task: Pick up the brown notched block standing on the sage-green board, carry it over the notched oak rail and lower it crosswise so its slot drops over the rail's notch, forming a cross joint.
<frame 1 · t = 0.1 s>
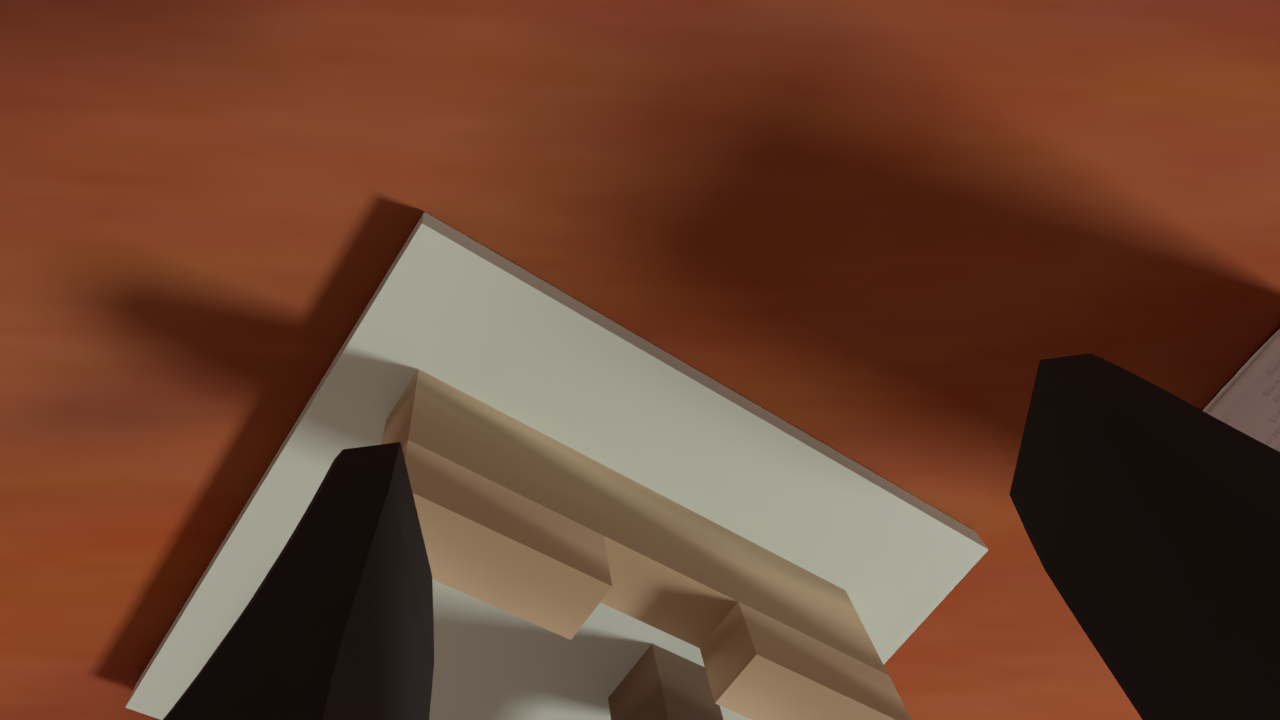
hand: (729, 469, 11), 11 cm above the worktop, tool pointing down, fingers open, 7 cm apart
board: (568, 604, 25), on the worktop
oak rail: (634, 512, 23), resting on board
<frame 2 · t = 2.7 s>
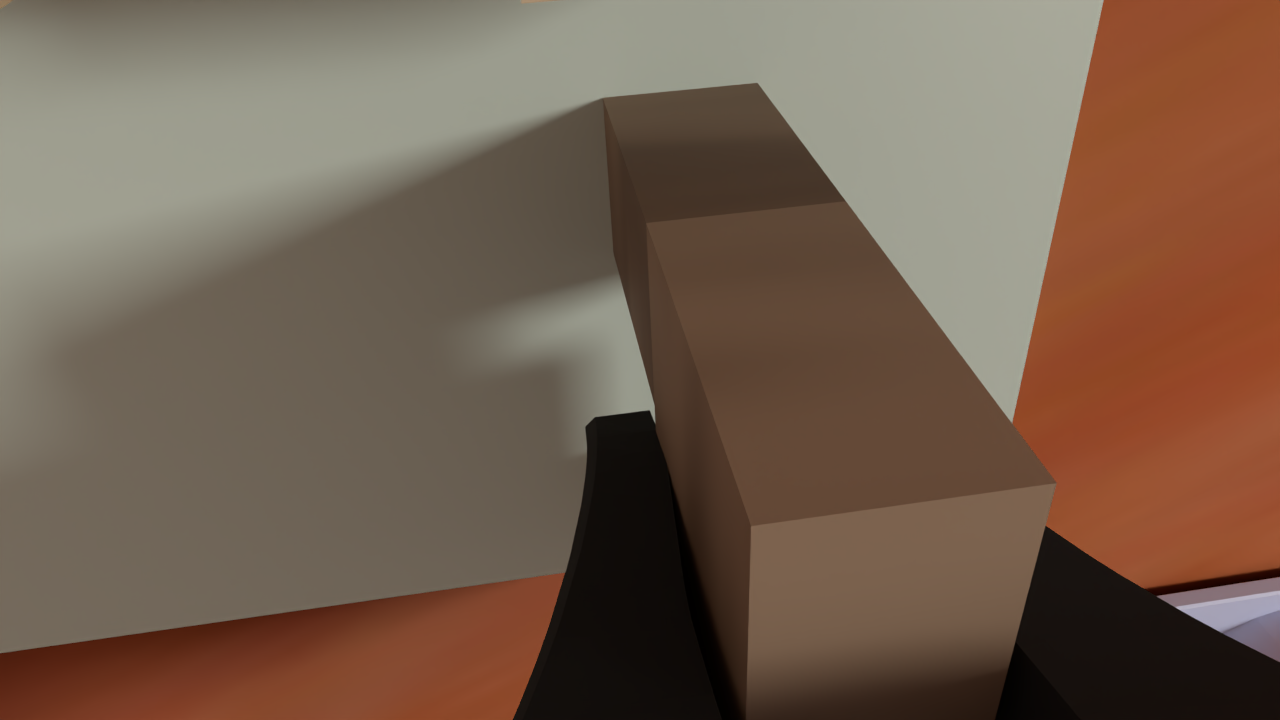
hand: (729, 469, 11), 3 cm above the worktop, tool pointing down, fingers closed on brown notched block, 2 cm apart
brown notched block: (686, 343, 13), point 1 cm above the worktop, touching board, gripper
board: (425, 131, 12), on the worktop
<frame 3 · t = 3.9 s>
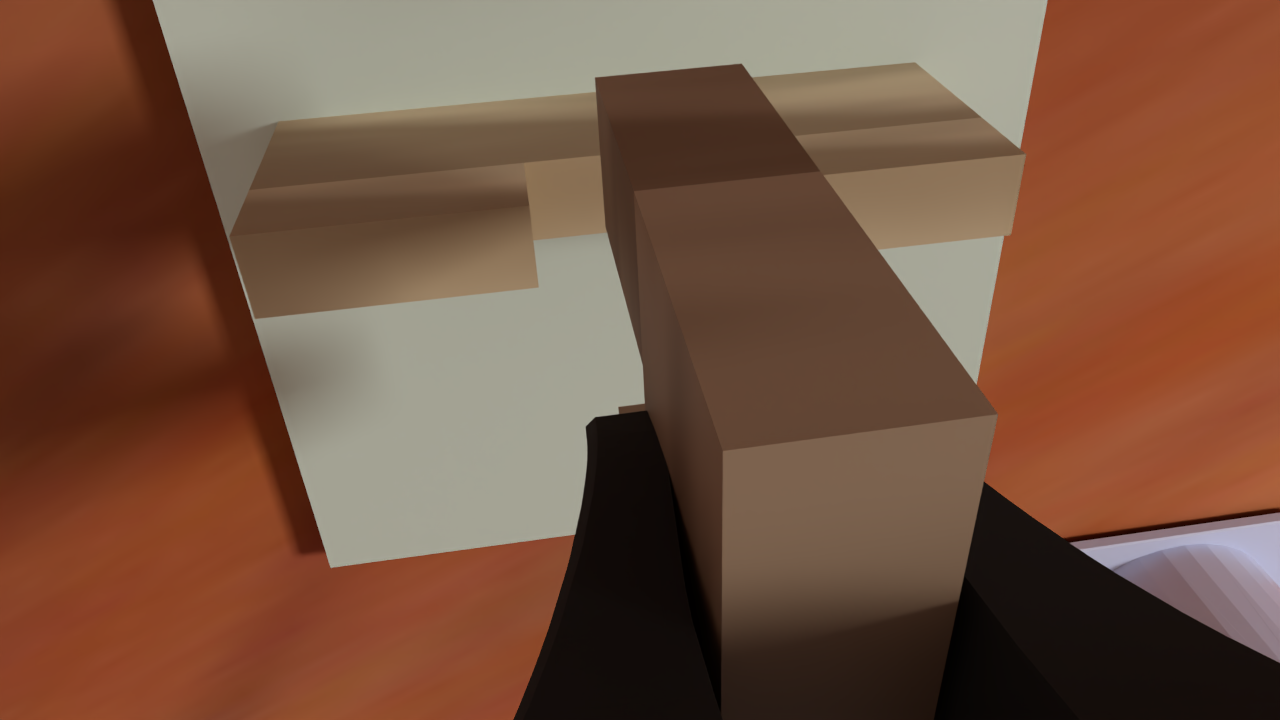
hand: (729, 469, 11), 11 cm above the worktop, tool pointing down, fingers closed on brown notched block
brown notched block: (675, 314, 14), point 7 cm above the worktop, touching gripper
board: (637, 264, 22), on the worktop
oak rail: (608, 126, 19), resting on board
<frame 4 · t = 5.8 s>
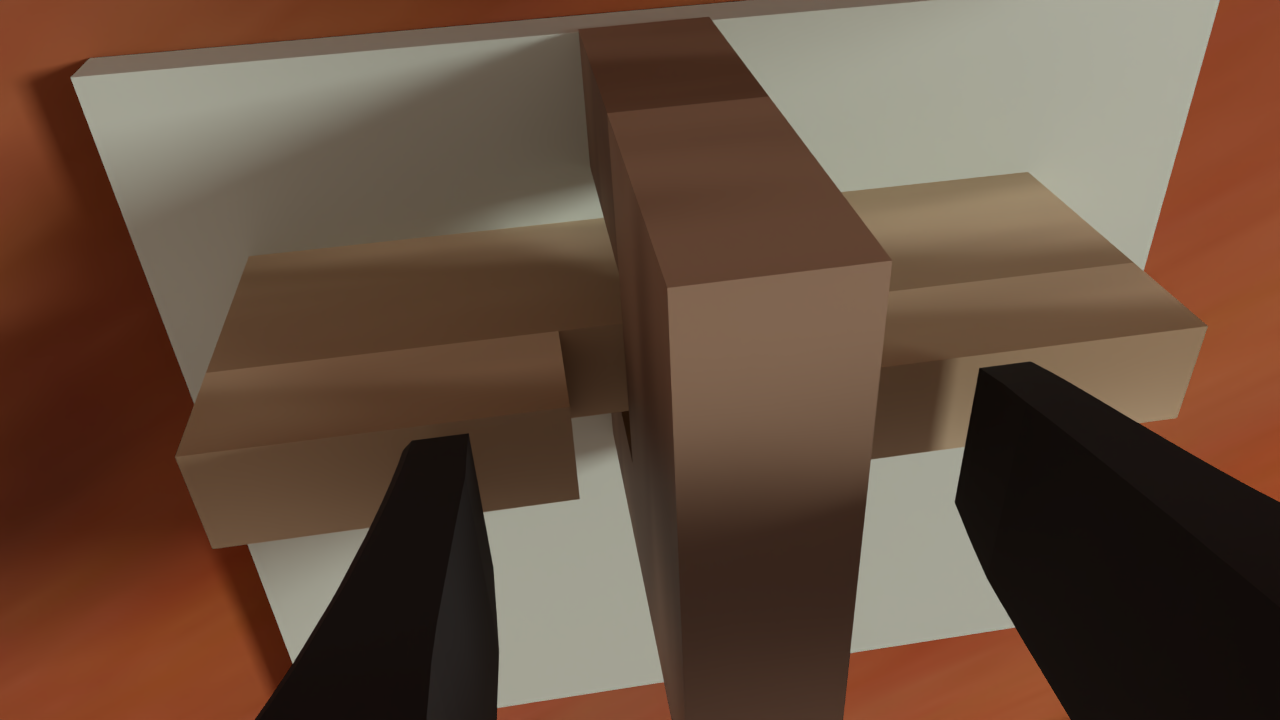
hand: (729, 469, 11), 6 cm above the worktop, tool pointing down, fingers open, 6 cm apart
brown notched block: (655, 250, 15), point 1 cm above the worktop, touching board
board: (681, 397, 18), on the worktop
oak rail: (655, 253, 15), resting on board
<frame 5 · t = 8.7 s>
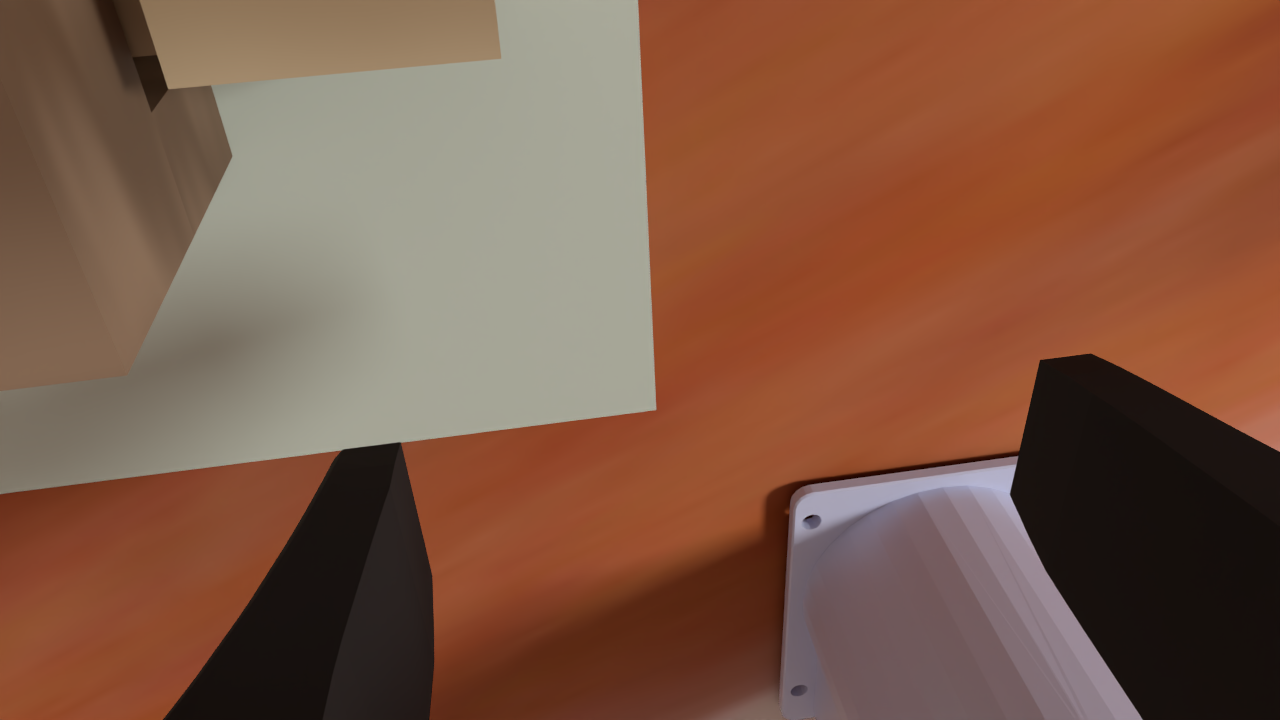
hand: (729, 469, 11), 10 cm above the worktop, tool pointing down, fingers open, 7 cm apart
board: (218, 144, 19), on the worktop
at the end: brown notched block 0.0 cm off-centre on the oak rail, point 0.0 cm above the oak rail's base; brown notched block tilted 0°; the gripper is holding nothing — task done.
